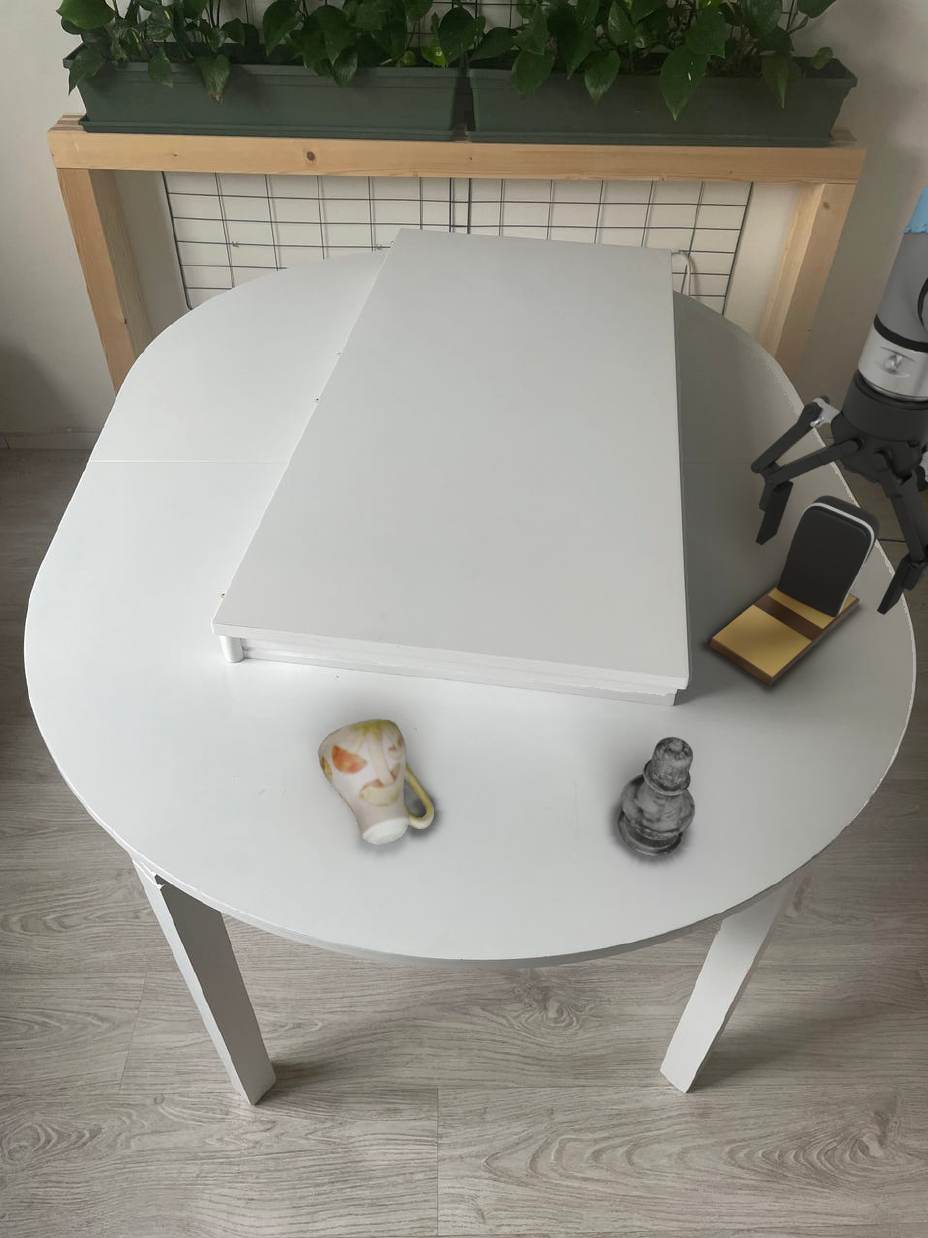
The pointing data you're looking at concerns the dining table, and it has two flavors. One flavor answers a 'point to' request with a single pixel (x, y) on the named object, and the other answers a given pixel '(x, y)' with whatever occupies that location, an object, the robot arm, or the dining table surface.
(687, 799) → the grey chess piece
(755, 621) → the strip board
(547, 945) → the dining table surface
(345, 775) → the mug
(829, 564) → the battery charger
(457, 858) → the dining table surface
